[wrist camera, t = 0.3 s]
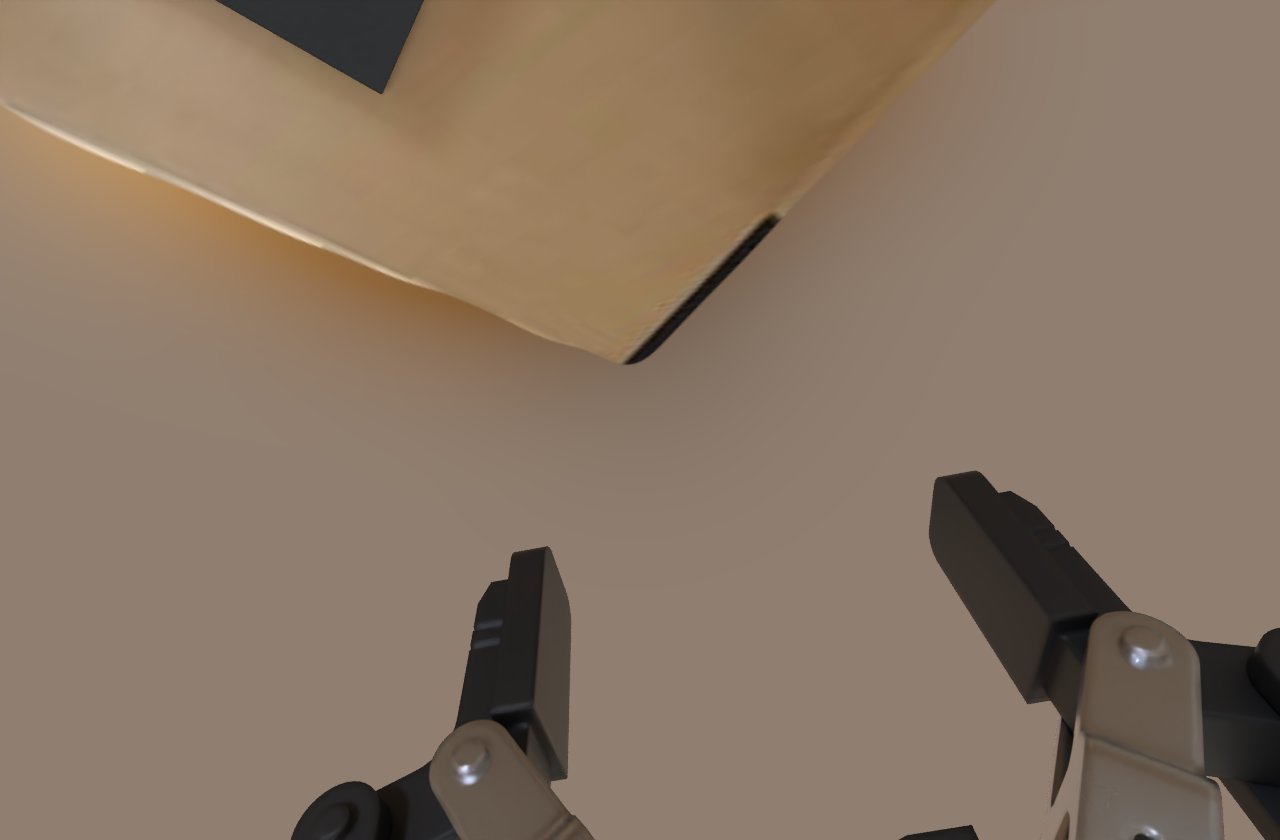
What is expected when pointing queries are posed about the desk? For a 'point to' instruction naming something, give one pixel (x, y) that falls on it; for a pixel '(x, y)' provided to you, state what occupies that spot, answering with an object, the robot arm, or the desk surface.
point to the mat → (340, 31)
